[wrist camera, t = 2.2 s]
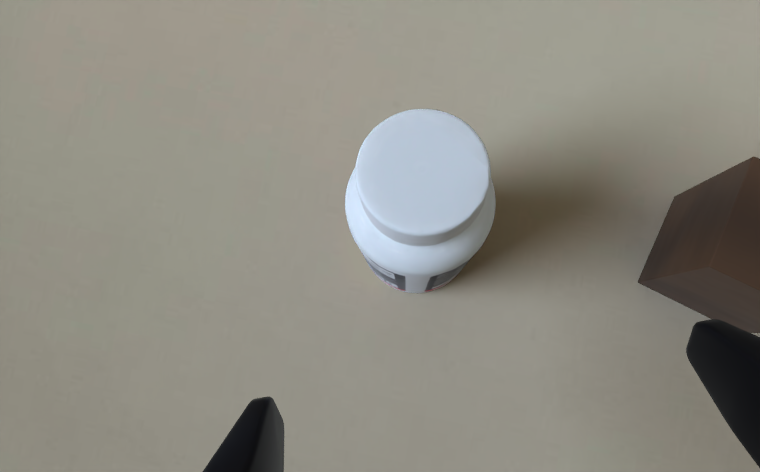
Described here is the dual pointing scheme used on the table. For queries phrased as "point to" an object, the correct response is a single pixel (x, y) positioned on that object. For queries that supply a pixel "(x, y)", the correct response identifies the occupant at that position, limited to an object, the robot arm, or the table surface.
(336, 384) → the table surface
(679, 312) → the table surface
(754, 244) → the walnut block
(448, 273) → the pill bottle
